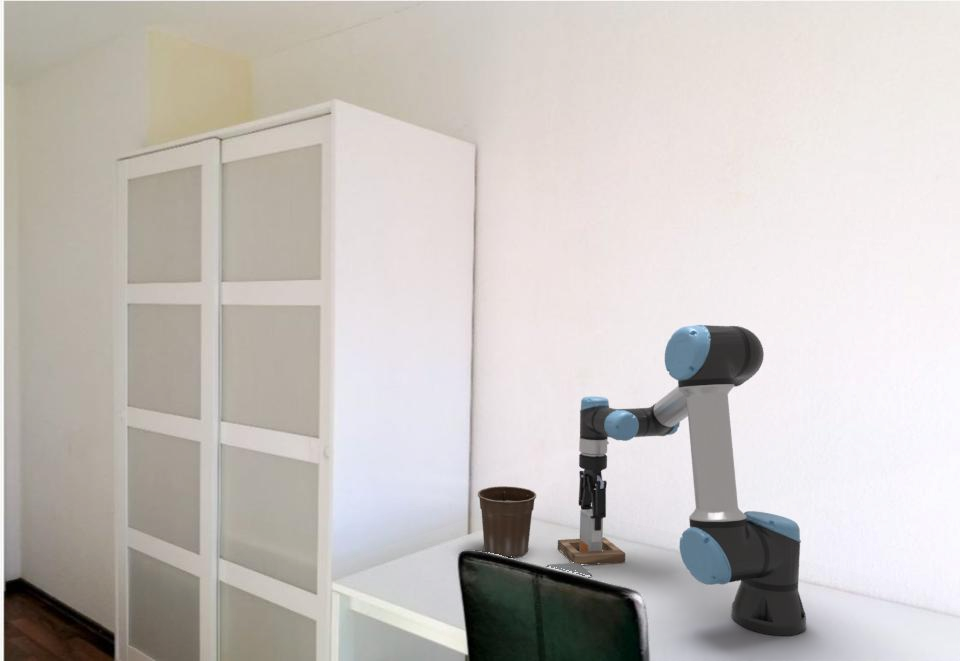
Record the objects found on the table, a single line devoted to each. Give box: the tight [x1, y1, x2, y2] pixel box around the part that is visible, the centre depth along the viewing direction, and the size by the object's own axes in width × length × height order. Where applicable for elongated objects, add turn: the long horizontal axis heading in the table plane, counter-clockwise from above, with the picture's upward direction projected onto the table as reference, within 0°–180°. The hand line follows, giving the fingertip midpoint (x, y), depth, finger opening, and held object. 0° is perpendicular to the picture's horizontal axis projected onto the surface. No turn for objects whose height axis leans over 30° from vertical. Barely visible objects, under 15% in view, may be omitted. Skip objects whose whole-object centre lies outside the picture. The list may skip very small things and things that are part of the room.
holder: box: [557, 536, 626, 565], centre depth 202 cm, size 14×14×2 cm
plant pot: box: [477, 485, 537, 559], centre depth 204 cm, size 16×16×16 cm
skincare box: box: [578, 509, 604, 552], centre depth 202 cm, size 6×4×12 cm
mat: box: [545, 562, 593, 577], centre depth 189 cm, size 9×9×1 cm
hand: (591, 537), depth 202 cm, fingers closed on skincare box, 6 cm apart
